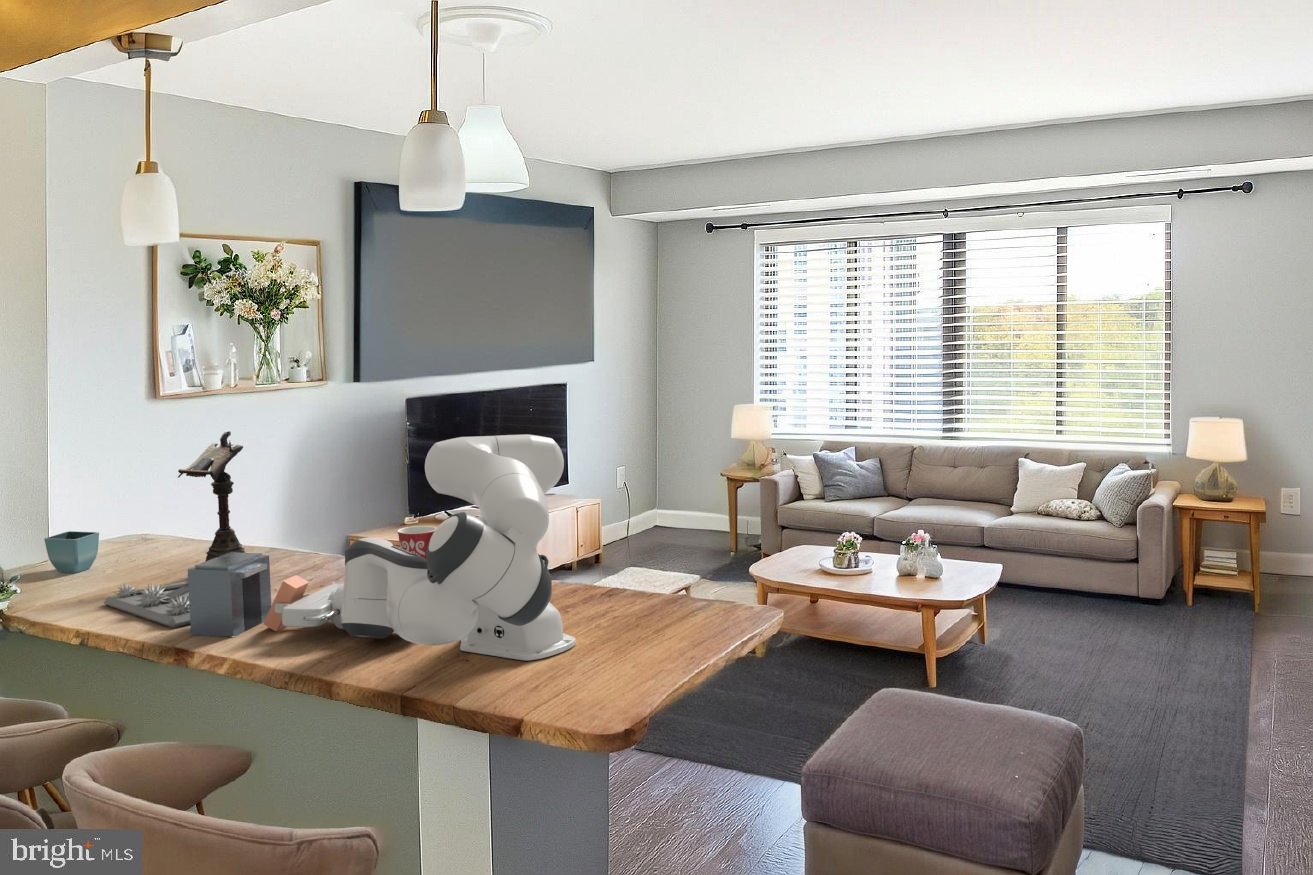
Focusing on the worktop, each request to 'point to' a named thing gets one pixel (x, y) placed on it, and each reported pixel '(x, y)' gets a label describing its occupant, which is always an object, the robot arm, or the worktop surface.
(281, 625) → the tall salmon pillar
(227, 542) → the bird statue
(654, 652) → the worktop surface
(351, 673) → the worktop surface
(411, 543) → the mug
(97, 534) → the flower pot
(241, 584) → the dispenser
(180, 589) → the spiky succulent planter
